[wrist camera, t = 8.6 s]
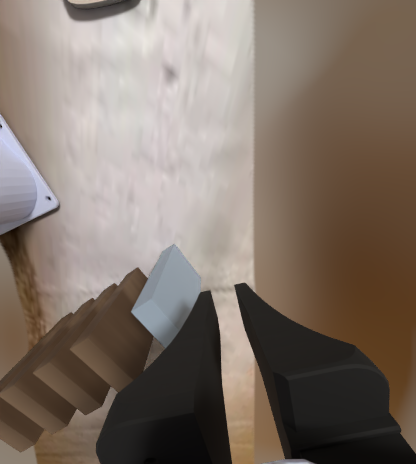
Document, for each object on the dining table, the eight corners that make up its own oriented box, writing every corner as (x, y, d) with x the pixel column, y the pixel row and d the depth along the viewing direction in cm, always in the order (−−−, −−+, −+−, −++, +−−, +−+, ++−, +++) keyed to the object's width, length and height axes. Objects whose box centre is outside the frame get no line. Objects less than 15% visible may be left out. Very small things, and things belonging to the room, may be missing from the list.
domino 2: (111, 332, 25) (51, 434, 15) (82, 304, 23) (-3, 395, 14) (121, 326, 24) (67, 425, 15) (92, 297, 23) (13, 384, 14)
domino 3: (132, 319, 24) (85, 415, 14) (104, 289, 23) (32, 372, 13) (142, 313, 24) (102, 406, 14) (114, 282, 23) (49, 362, 13)
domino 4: (154, 305, 24) (121, 395, 14) (126, 274, 22) (69, 349, 13) (165, 298, 23) (138, 385, 14) (137, 267, 22) (87, 337, 13)
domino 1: (90, 345, 25) (20, 452, 15) (61, 318, 24) (-35, 415, 14) (100, 339, 25) (34, 444, 15) (71, 312, 24) (-20, 406, 14)
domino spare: (189, 284, 23) (179, 363, 13) (162, 251, 22) (131, 311, 12) (200, 277, 23) (198, 352, 13) (174, 243, 22) (151, 298, 12)
